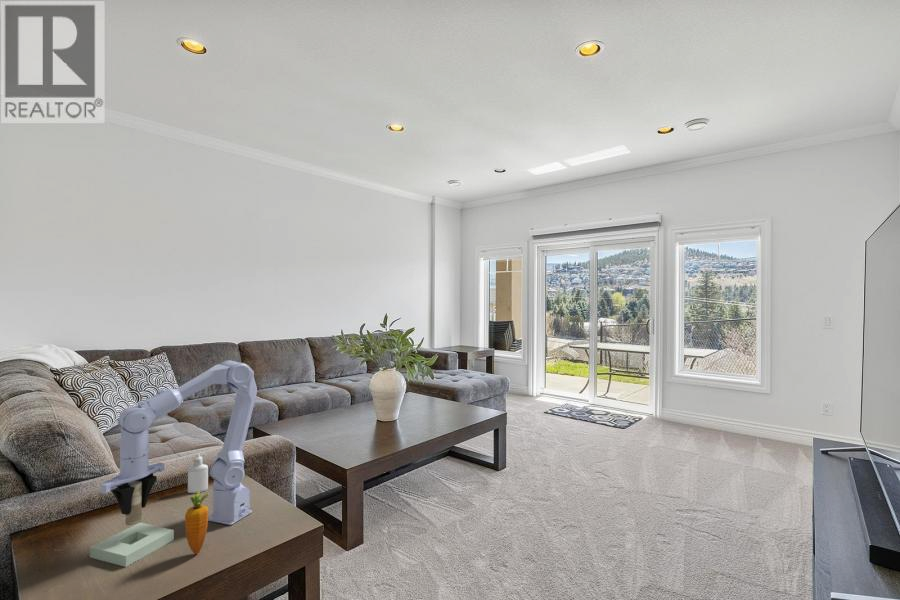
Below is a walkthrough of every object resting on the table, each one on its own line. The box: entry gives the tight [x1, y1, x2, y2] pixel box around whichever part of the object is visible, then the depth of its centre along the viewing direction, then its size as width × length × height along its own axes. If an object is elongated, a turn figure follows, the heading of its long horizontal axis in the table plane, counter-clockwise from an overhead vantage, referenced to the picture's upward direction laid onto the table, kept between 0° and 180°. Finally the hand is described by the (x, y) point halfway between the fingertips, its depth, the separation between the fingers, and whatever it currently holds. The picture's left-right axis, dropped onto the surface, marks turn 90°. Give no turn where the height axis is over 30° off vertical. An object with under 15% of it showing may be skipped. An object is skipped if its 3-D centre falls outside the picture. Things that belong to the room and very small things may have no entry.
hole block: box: [89, 522, 175, 568], centre depth 106 cm, size 12×12×2 cm
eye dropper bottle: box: [187, 453, 209, 494], centre depth 139 cm, size 4×6×12 cm
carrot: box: [184, 491, 209, 555], centre depth 104 cm, size 5×5×15 cm
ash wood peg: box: [124, 481, 143, 526], centre depth 106 cm, size 3×3×10 cm
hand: (133, 510), depth 106 cm, fingers closed on ash wood peg, 3 cm apart
